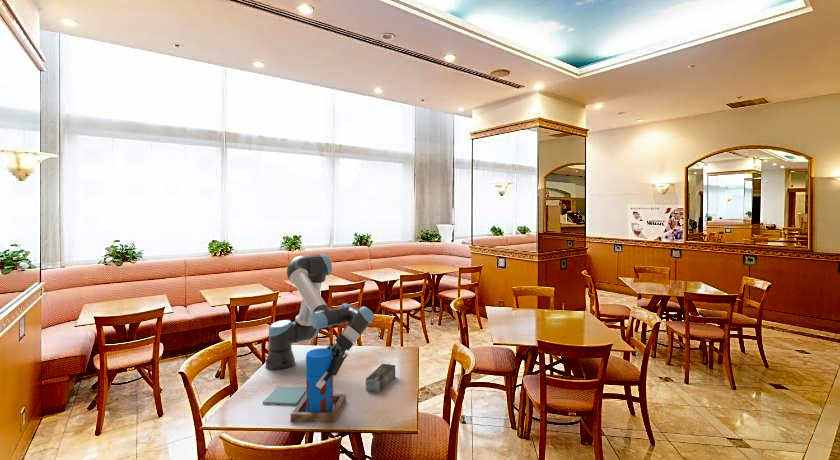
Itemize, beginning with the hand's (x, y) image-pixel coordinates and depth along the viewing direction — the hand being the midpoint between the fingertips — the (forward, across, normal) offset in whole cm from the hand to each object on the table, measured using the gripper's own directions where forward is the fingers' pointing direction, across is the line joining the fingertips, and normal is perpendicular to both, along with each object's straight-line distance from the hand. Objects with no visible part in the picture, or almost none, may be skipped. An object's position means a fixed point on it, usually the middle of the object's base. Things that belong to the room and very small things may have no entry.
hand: (313, 382), depth 159 cm
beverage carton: (-17, +8, -36) cm, 40 cm away
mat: (+13, +20, -6) cm, 25 cm away
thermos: (+7, 0, -12) cm, 14 cm away
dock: (+7, 0, -11) cm, 13 cm away
